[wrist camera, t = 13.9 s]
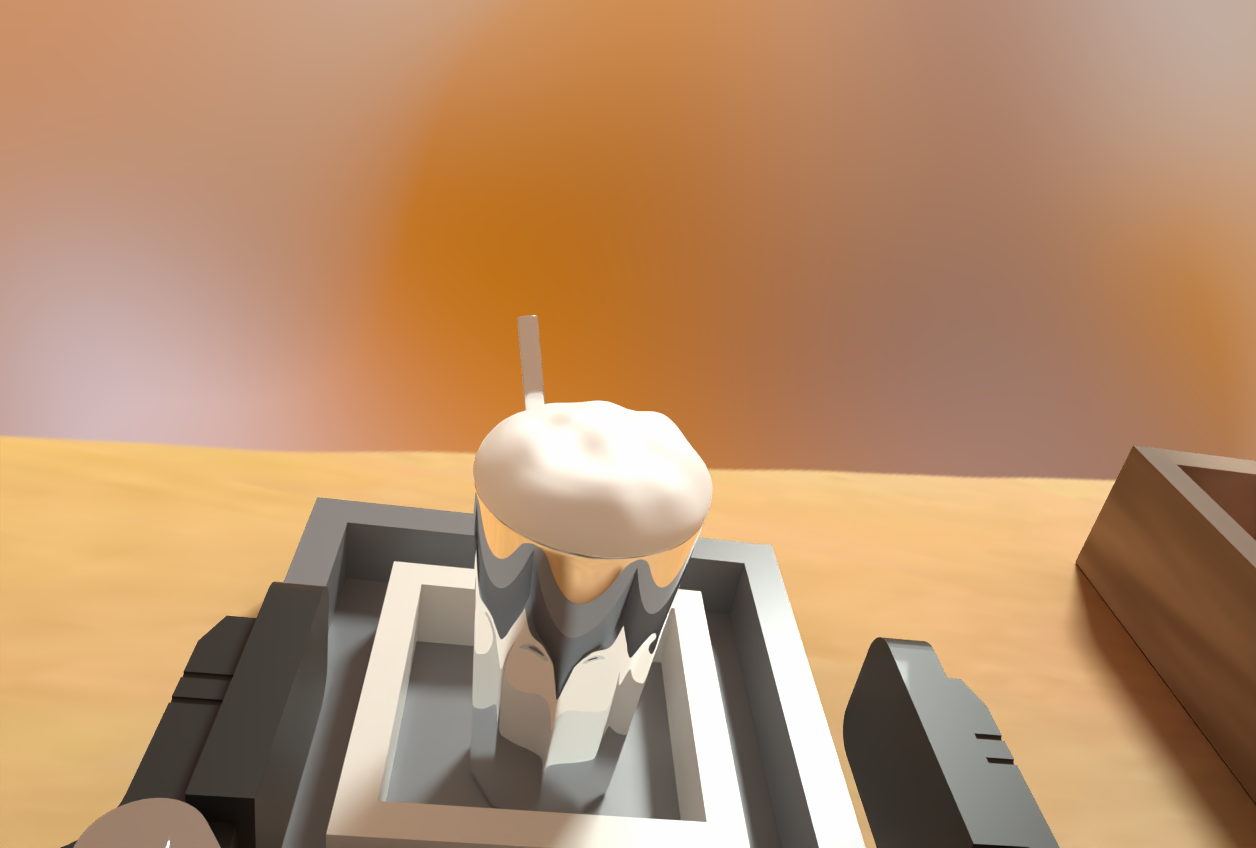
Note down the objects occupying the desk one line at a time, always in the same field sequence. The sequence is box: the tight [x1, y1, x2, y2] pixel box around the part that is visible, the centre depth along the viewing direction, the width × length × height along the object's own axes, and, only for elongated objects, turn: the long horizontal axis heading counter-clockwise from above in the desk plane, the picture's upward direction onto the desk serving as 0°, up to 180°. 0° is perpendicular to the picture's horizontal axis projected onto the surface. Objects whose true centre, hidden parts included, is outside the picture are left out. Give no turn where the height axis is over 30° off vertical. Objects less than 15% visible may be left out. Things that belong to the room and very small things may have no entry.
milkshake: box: [470, 315, 712, 814], centre depth 20 cm, size 5×5×10 cm
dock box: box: [282, 497, 866, 848], centre depth 22 cm, size 13×13×2 cm
